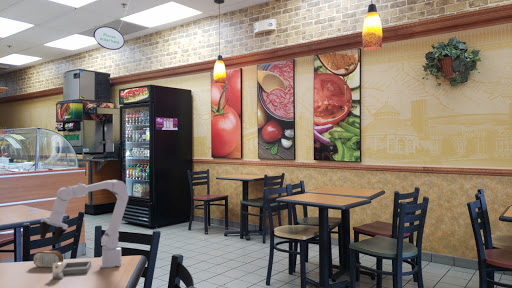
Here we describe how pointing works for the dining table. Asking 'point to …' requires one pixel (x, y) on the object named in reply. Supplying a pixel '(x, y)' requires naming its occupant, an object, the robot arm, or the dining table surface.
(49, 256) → the tin
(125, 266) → the dining table surface
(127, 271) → the dining table surface
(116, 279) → the dining table surface
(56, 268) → the handled mug
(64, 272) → the parts tray
